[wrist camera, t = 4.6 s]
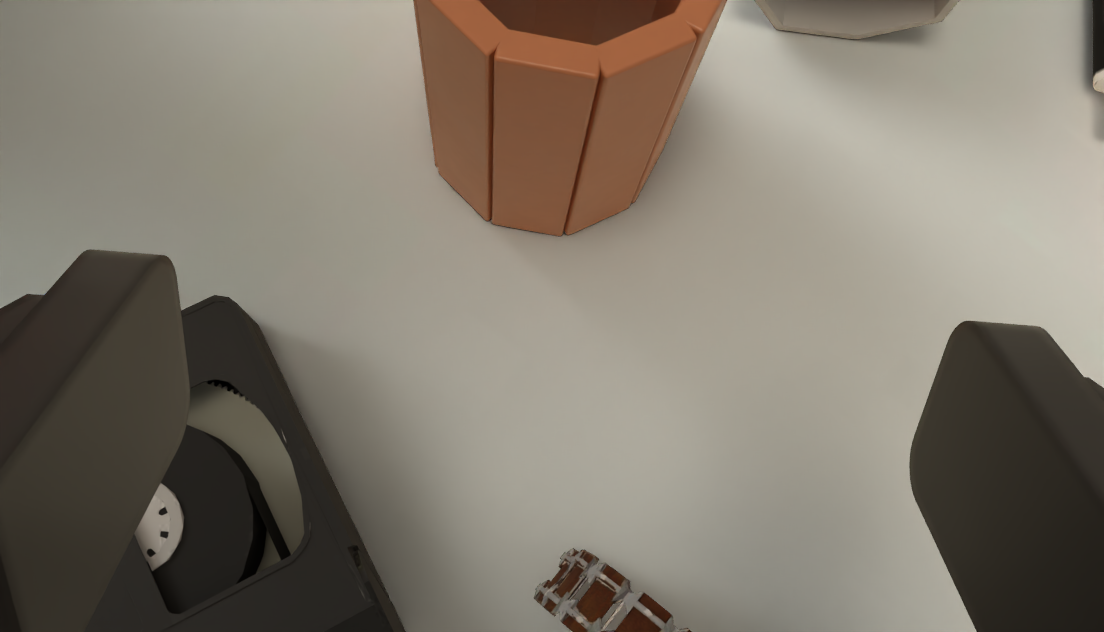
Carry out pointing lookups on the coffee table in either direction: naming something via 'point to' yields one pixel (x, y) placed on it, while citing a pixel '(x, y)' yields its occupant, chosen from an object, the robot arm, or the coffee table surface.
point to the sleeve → (556, 100)
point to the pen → (1098, 45)
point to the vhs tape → (243, 510)
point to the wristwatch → (599, 598)
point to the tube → (853, 15)
